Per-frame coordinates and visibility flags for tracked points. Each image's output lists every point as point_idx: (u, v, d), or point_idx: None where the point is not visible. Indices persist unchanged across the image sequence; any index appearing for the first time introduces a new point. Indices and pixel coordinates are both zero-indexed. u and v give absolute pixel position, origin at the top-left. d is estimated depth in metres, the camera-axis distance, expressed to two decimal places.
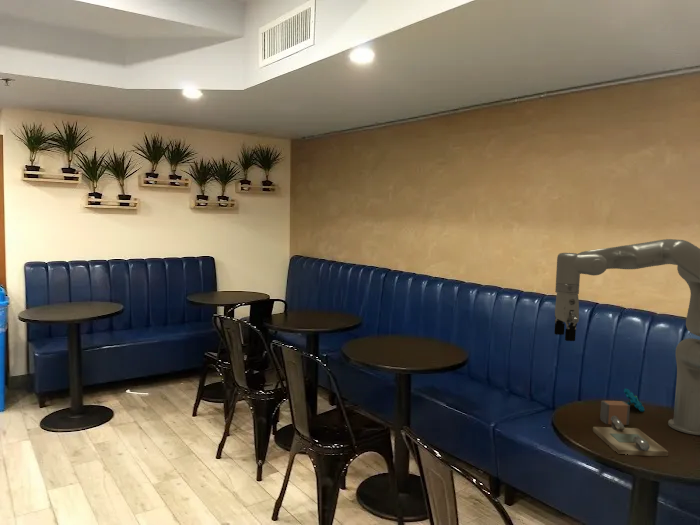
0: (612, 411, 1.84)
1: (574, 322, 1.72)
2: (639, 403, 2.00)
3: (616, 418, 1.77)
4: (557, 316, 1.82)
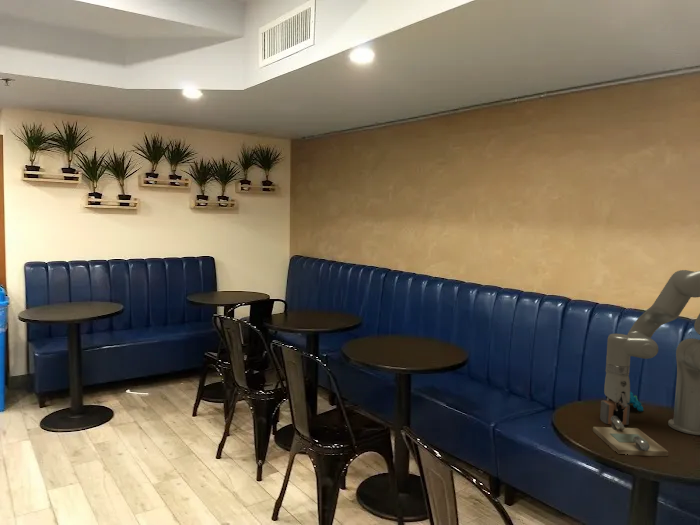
0: (612, 411, 1.84)
1: (623, 407, 1.80)
2: (638, 403, 2.00)
3: (616, 418, 1.77)
4: (607, 394, 1.88)
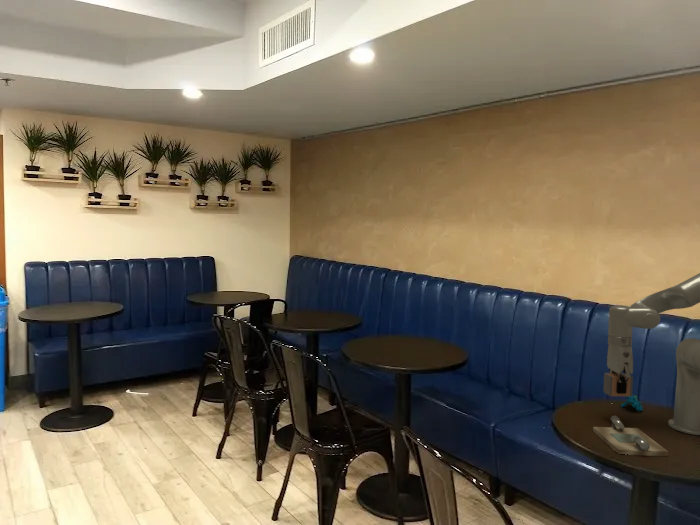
0: (615, 383, 1.83)
1: (626, 378, 1.79)
2: (637, 403, 2.00)
3: (616, 418, 1.77)
4: (610, 367, 1.87)
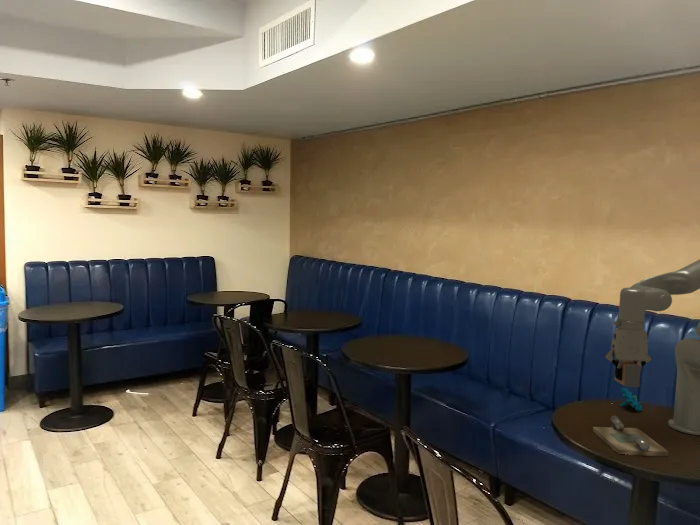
0: None
1: (608, 359, 1.73)
2: (637, 403, 2.00)
3: (616, 418, 1.77)
4: None
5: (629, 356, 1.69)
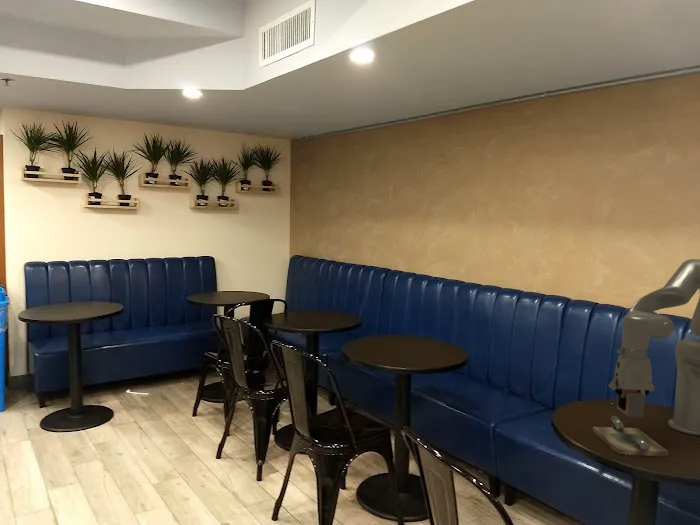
0: None
1: None
2: None
3: (616, 418, 1.77)
4: None
5: (633, 385, 1.64)
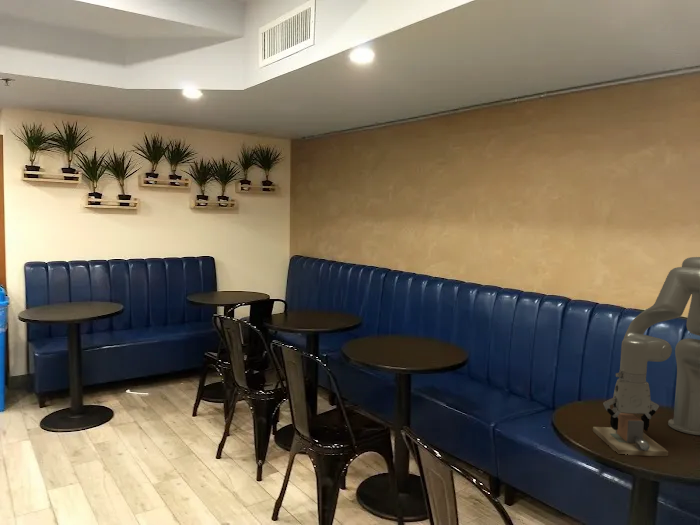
0: (619, 421, 1.70)
1: None
2: None
3: None
4: None
5: (632, 409, 1.65)
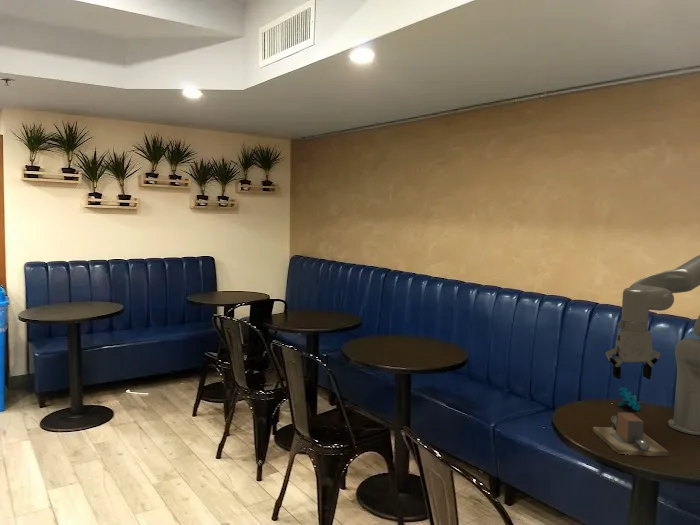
0: (619, 421, 1.70)
1: (607, 356, 1.69)
2: (635, 402, 2.00)
3: (616, 418, 1.77)
4: None
5: (634, 357, 1.66)
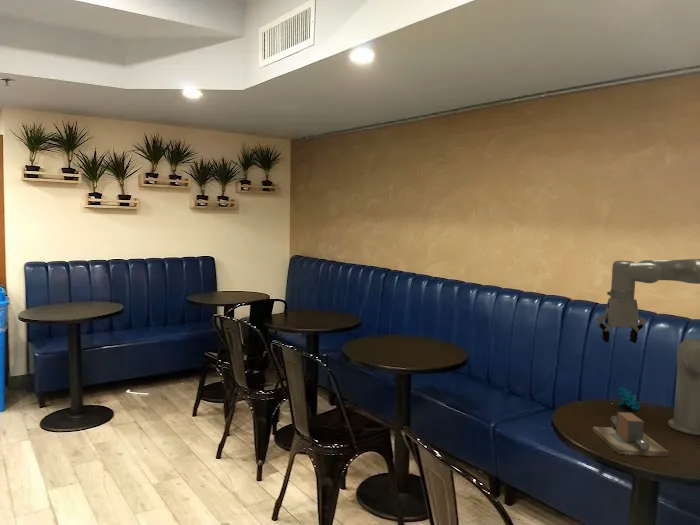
0: (619, 421, 1.70)
1: (597, 322, 1.88)
2: (634, 402, 2.01)
3: (616, 418, 1.77)
4: None
5: (621, 323, 1.85)
